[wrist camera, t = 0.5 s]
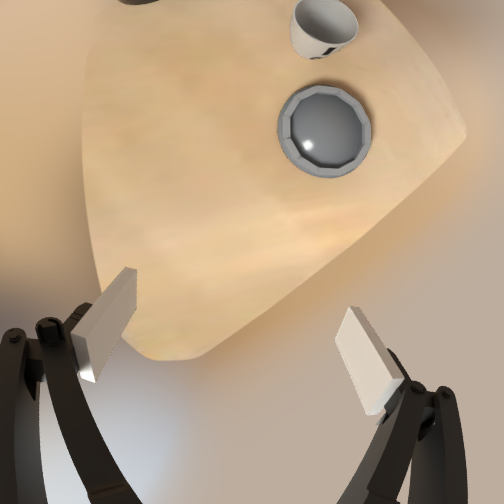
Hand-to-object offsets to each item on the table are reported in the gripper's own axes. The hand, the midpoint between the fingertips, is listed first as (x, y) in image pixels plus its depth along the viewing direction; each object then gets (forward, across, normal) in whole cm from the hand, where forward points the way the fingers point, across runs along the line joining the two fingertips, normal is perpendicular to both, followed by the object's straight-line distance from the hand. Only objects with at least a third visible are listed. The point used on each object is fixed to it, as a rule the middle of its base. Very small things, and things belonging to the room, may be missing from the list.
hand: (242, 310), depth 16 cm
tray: (+26, +9, +15) cm, 31 cm away
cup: (+26, +4, +28) cm, 39 cm away
